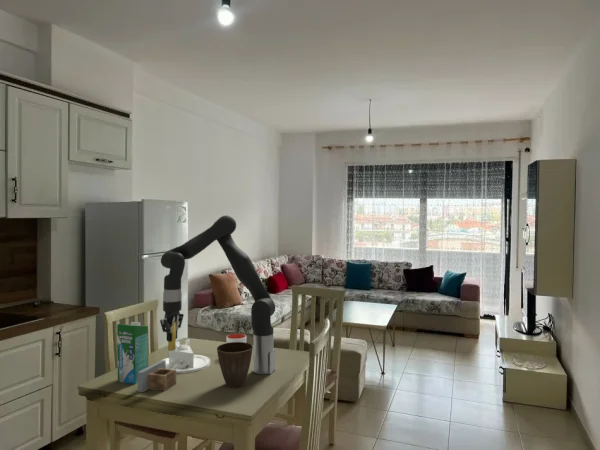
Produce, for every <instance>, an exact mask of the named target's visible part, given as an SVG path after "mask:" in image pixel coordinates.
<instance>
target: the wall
mask: <svg viewBox="0 0 600 450" xmlns="http://www.w3.org/2000/svg"><path fill="white" fill-rule="evenodd" d="M159 368H164V369H166V361H165V360H163V359H161V360H159V361H157V362H155V363H153V364H151V365H148V367H147V368H145V369H143V370H141V371H139V372H138V383H137V392H139V393H144V392H145V391H146V390H149V389H148V374H150V373H152V372H153V371H155V370H157V369H159Z"/></svg>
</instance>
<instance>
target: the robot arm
mask: <svg viewBox="0 0 600 450" xmlns="http://www.w3.org/2000/svg"><path fill="white" fill-rule="evenodd" d="M236 229H237V222H236V220H235V218H234V217H232V216H231V215H222V216H220V217H218V219H217V220H216V221H214V222H213V224H212V225H211V226H209V227H208V228H207V229H206V230H204V231H202V232H201V233H200V234H199V233H198V234H197V235H195V236H194V237H192V238H191V239H188V240H187V241H186V242H184V243H183V244H182V245H179V246H176V247H174V248H171V249H169V250H167V251H166V252H164V253H163V254H162V255H161V258H160V263H161V265H162V267H163V268H166V269H169V273H168V274H166V275H164V278H163V292H162V296H163V297H162V310H163V312H164V318H163V319H160V320H159V323H160V326H161V329H162V332H163V333H166V341H167V342H168V341H169V342H171V341H172V328H173V327H174V322H175V321H176V340H177V339H178V330H179V329H180V328H181V327H182V323H183V319H184V313H180V312H181V311H182V302H183V300H182V298H183V297H182V296H183V295H182V293H183V292H182V277H183V275H184V270H185V266H186V260H190V259H192V258H194V257H196V256H197V255H198V254H199V253H201V252H202V251H204V250H206V248H208V247H209V246H210V245H212V244H213V243H214V242H215V241H217V243H218V244H219V245H220V246H219V247H221V250H223V252H224V255H225V256H226V258H227V260H228V262H229V263H230V265H231V266H230V267H231V269H232V270H233V273H234V275H235V276H236V278H237V280H239V282H240V283H241V284H242V285H243V286H244V287H245V288H246V290H248V291H249V293H250V295H251V296H252V298H253V301H254V302H253V304H252V305H251V308H250V309H251V310H250V311H251V312H250V318H251V319H250V320H251V329H252V331H253V332H252V334H253V338H252V339H253V340H252V341H253V342H252V346H253V348H252V357H253V364H252V365H253V367H252V368H253V373H255V374H257V375H271V374H272V373H273V372H274V371H276V349H274V327H273V326H272V323H271V322H272V319H271V318H272V316H273V315H274V313H275V311H276V304H275V302H274V300H273V298H272V297H271V295H270V294H269V292H268V290H267V289H266V288H265V286H264V284H263V282H262V279H261V277H260V276H259V274H258V272H257V270H256V268H255V266H254V264H253V262H252V259H251V258H250V257H249V255H248V254H247V253H245V251H244V250H242V249H241V248H240V247H238V245H237V244H236V243H235V241H234V239H233V237H232V234H233V233H234V232H235V231H236ZM168 324H171V325H168ZM169 327H170V330H169Z"/></svg>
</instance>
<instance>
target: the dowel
mask: <svg viewBox="0 0 600 450" xmlns="http://www.w3.org/2000/svg"><path fill="white" fill-rule="evenodd" d="M168 325H171V324H168ZM169 330H170V327H169ZM176 341H177V339H176V321H175V322H174V327H173V328H172V341H171V342H169V341H167V345H168V347H167V350H168V352H169V351H173V350H175V349H176V348H177V347H176Z"/></svg>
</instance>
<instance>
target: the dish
mask: <svg viewBox="0 0 600 450" xmlns="http://www.w3.org/2000/svg"><path fill="white" fill-rule="evenodd" d="M190 344H191V340H190V338H188V339H186V340H185V342H184V344H181V343H180V341H179V340H178V341H177V340H176V349H175V350H173V351H169V350H168V357H166V358H163V359H162V360H165V361H166V369H173V370H176V374H187V373H188V374H189V373H194V372H198V371H202V370H204V369H206V368H208V367H209V366H210V365H211V358H209V357H207V356H205V355H202V354H194V352H193V350H192V348H191V346H190Z"/></svg>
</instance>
